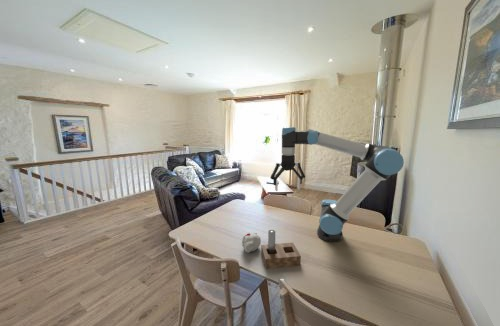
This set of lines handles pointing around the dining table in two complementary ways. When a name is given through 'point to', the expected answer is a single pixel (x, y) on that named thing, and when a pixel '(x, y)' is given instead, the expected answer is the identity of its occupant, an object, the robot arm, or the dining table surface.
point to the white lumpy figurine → (251, 242)
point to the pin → (271, 242)
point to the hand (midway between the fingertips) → (287, 189)
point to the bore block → (281, 255)
